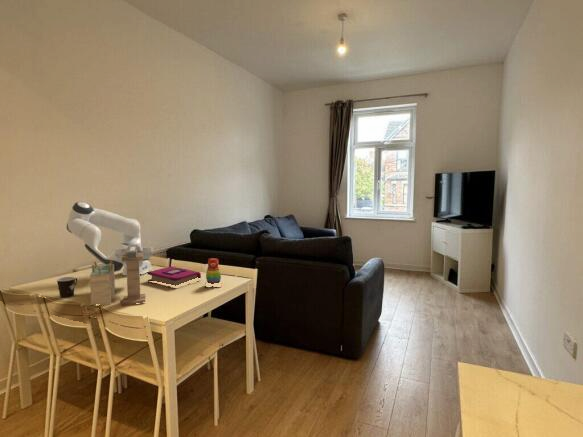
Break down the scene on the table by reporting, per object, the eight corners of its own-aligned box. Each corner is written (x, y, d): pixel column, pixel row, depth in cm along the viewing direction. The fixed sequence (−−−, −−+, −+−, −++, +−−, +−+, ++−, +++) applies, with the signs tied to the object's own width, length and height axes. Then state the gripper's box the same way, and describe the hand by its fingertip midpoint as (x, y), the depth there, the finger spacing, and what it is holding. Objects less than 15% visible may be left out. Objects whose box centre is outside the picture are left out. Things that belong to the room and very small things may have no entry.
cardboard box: (97, 293, 196) (96, 259, 194) (114, 292, 200) (113, 258, 198) (91, 306, 176) (89, 268, 174) (110, 304, 180) (109, 266, 177)
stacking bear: (203, 288, 210) (203, 260, 208) (206, 283, 220) (205, 256, 218) (221, 287, 211) (221, 260, 209) (222, 283, 221) (222, 256, 219)
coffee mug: (62, 299, 186) (61, 282, 185) (55, 296, 190) (54, 279, 189) (84, 294, 195) (83, 277, 194) (77, 291, 200) (76, 275, 199)
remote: (130, 250, 194) (130, 244, 194) (137, 249, 195) (137, 244, 195) (127, 258, 174) (127, 252, 173) (136, 257, 175) (135, 251, 175)
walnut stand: (123, 299, 187) (122, 253, 185) (145, 297, 191) (144, 252, 189) (122, 306, 177) (120, 257, 175) (144, 303, 181) (143, 256, 179)
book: (172, 275, 239) (172, 264, 238) (201, 281, 225) (200, 270, 224) (146, 282, 221) (146, 271, 221) (175, 289, 207) (175, 277, 206)
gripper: (116, 251, 200) (113, 243, 189) (153, 249, 208) (152, 241, 196) (115, 261, 198) (113, 254, 186) (153, 259, 206) (152, 252, 194)
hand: (133, 247), depth 191 cm, fingers closed on remote, 4 cm apart
